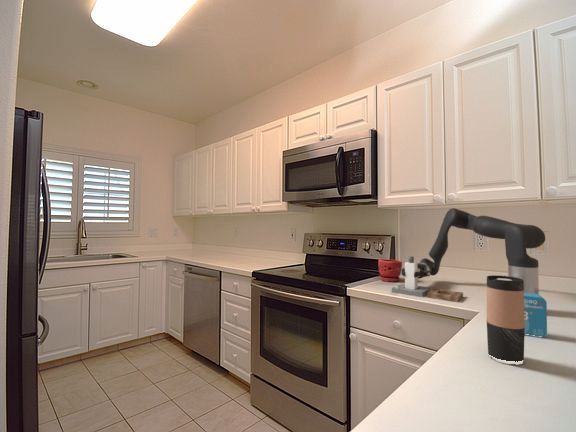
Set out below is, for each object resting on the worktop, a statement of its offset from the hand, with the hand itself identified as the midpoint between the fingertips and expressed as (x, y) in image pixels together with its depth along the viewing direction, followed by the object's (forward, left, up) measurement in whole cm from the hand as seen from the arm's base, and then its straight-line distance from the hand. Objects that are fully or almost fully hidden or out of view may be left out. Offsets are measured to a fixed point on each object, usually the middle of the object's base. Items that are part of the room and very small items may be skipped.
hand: (409, 274), depth 142 cm
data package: (-43, +30, -9) cm, 53 cm away
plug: (0, -3, -7) cm, 8 cm away
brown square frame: (-15, -3, -9) cm, 18 cm away
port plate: (0, -3, -9) cm, 9 cm away
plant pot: (+19, -25, -9) cm, 32 cm away
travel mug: (-41, +55, -9) cm, 69 cm away
